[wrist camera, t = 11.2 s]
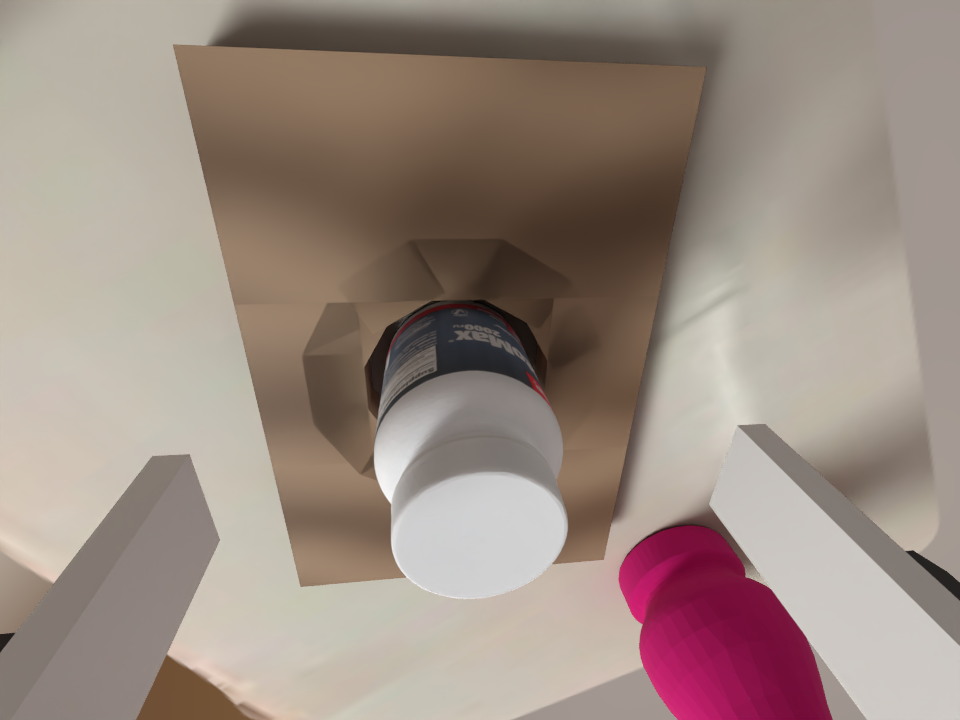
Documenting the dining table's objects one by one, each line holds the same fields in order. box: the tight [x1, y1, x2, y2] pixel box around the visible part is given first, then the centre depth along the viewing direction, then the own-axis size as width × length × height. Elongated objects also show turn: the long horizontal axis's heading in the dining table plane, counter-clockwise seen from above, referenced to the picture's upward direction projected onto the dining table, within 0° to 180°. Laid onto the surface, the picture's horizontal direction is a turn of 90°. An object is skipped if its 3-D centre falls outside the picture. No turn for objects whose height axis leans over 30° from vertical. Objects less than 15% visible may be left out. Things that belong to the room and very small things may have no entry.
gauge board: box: [173, 45, 707, 587], centre depth 17 cm, size 20×14×2 cm
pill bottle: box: [374, 300, 568, 599], centre depth 14 cm, size 5×5×9 cm
